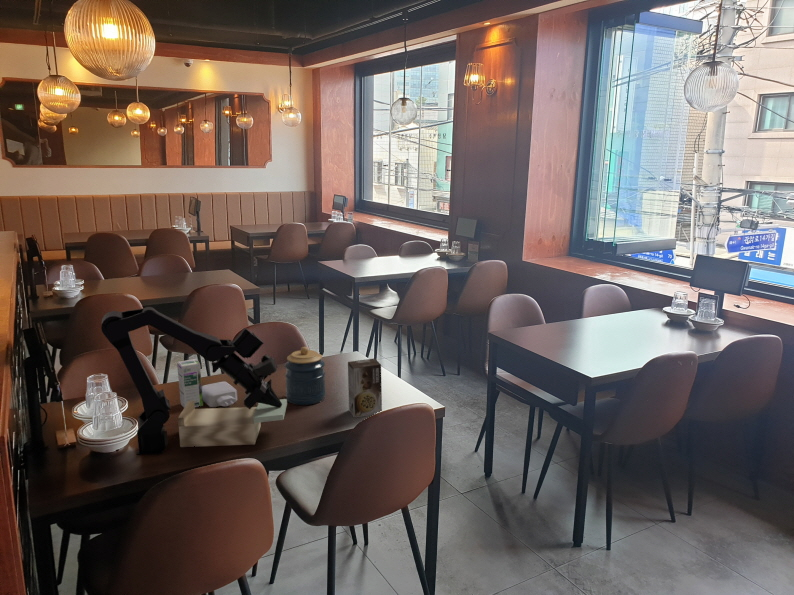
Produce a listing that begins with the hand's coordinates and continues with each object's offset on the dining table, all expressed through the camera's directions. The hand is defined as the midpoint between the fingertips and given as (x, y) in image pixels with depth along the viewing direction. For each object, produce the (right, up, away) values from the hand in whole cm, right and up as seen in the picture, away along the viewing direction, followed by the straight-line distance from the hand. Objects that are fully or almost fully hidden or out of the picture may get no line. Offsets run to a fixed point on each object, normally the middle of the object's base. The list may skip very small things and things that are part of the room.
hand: (281, 406), depth 173 cm
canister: (+3, -3, +28) cm, 29 cm away
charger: (-24, -4, +24) cm, 34 cm away
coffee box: (+23, -5, +17) cm, 29 cm away
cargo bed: (-17, -9, 0) cm, 19 cm away
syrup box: (-33, -4, +22) cm, 40 cm away
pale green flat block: (-7, -2, 0) cm, 7 cm away
